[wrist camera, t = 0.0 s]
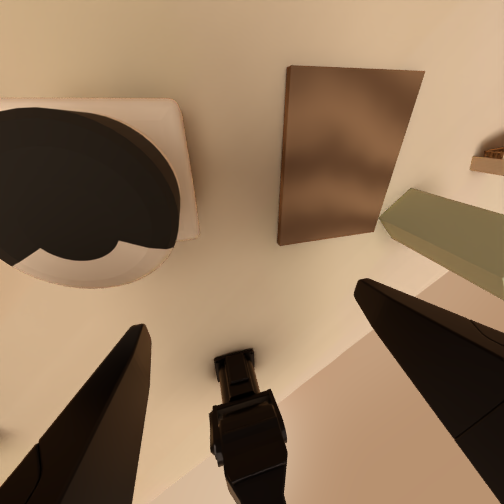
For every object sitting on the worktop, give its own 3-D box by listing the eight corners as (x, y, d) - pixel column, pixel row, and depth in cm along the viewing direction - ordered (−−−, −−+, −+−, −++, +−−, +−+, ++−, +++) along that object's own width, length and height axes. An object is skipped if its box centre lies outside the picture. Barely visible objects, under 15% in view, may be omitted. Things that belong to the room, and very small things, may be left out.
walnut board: (369, 229, 28) (373, 231, 27) (277, 242, 25) (279, 245, 25) (417, 72, 20) (425, 71, 19) (287, 67, 17) (291, 65, 16)
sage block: (392, 238, 30) (506, 301, 19) (378, 217, 27) (502, 278, 17) (421, 211, 29) (560, 264, 18) (410, 188, 26) (565, 232, 16)
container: (67, 108, 15) (-250, 67, 4) (181, 107, 16) (170, 77, 6) (108, 212, 19) (5, 330, 8) (196, 203, 20) (207, 292, 10)
